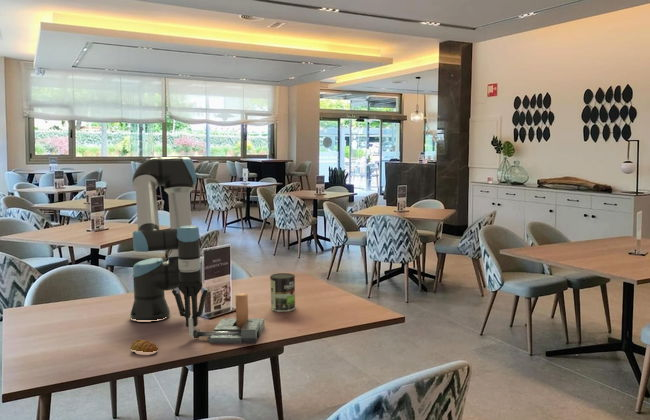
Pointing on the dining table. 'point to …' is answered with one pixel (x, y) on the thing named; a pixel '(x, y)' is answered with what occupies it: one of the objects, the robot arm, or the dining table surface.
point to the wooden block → (241, 309)
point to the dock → (248, 331)
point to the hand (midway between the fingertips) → (192, 335)
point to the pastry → (144, 346)
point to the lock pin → (212, 333)
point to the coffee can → (282, 292)
